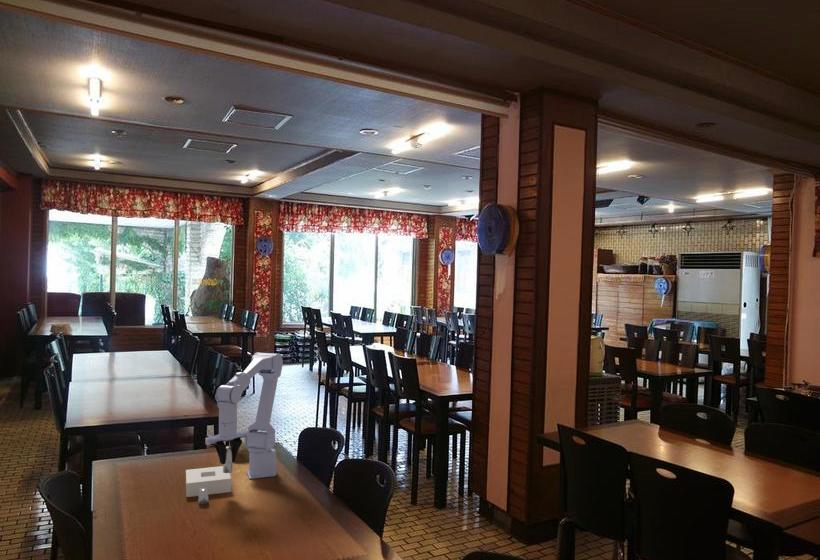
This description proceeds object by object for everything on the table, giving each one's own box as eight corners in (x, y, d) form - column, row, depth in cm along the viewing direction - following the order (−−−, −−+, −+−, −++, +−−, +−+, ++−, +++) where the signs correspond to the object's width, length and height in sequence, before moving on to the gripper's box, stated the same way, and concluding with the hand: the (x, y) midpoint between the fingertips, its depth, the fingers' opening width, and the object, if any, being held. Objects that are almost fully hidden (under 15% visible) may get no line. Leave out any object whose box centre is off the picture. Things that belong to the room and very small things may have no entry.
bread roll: (245, 471, 226) (254, 453, 226) (221, 459, 227) (230, 441, 226) (252, 463, 236) (261, 445, 236) (229, 452, 236) (238, 434, 236)
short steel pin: (208, 499, 188) (208, 487, 188) (208, 503, 186) (208, 490, 186) (198, 501, 187) (198, 488, 187) (198, 504, 185) (198, 491, 185)
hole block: (227, 478, 208) (227, 465, 208) (231, 491, 195) (231, 478, 195) (185, 482, 203) (185, 469, 203) (186, 497, 190) (186, 483, 190)
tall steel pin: (233, 469, 196) (233, 446, 195) (231, 473, 193) (231, 448, 192) (223, 470, 195) (223, 446, 195) (222, 473, 192) (222, 449, 192)
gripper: (242, 415, 202) (242, 455, 202) (201, 422, 192) (201, 463, 192) (252, 419, 196) (252, 460, 196) (210, 427, 187) (210, 469, 187)
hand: (227, 462), depth 194 cm, fingers closed on tall steel pin, 3 cm apart
